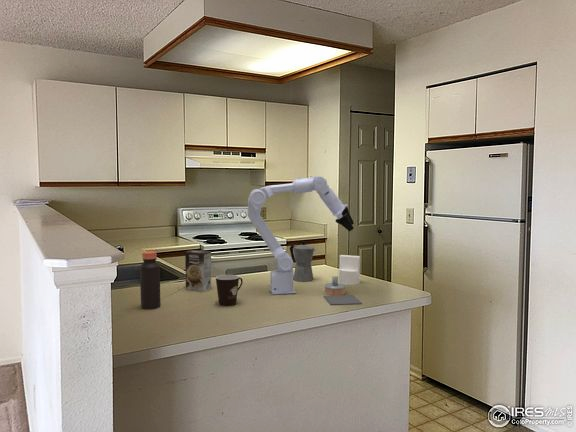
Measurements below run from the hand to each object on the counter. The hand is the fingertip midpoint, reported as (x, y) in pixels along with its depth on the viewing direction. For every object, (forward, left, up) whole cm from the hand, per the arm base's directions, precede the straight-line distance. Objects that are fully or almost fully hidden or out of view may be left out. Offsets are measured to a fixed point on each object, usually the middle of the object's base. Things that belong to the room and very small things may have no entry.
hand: (351, 227), depth 188 cm
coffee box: (-63, +10, -27) cm, 69 cm away
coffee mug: (-50, -13, -27) cm, 58 cm away
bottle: (-79, -14, -27) cm, 84 cm away
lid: (-8, -4, -24) cm, 25 cm away
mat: (-8, -15, -26) cm, 31 cm away
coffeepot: (-17, +22, -27) cm, 39 cm away
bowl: (-8, -4, -26) cm, 28 cm away
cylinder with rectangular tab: (+3, +13, -27) cm, 30 cm away
